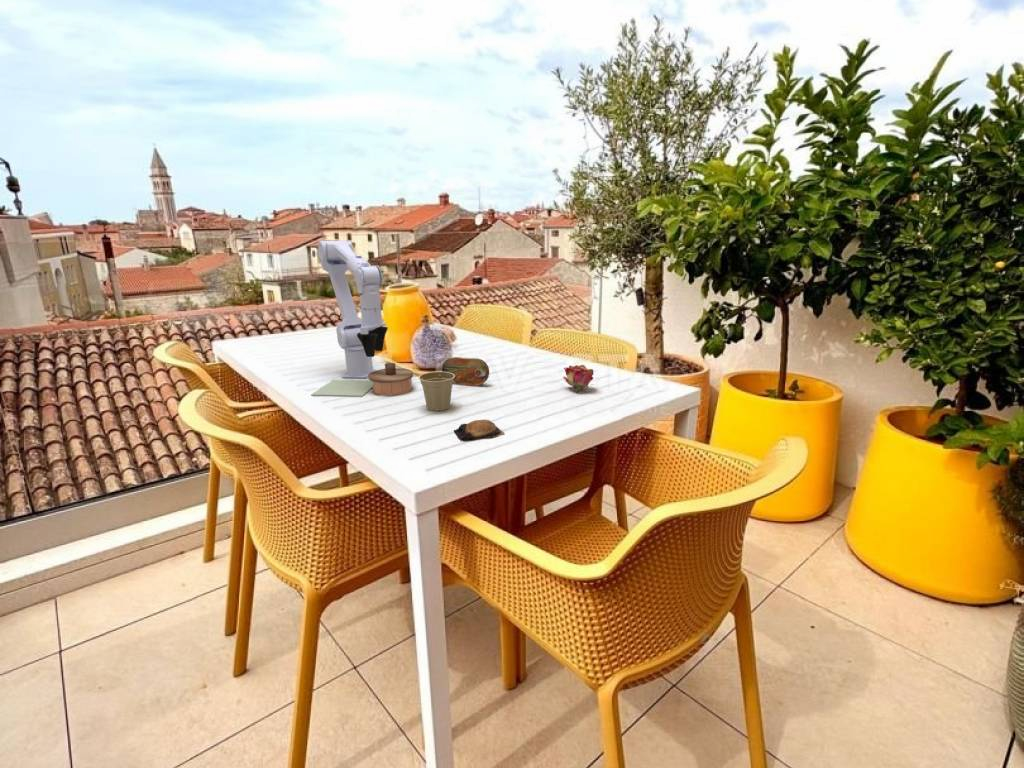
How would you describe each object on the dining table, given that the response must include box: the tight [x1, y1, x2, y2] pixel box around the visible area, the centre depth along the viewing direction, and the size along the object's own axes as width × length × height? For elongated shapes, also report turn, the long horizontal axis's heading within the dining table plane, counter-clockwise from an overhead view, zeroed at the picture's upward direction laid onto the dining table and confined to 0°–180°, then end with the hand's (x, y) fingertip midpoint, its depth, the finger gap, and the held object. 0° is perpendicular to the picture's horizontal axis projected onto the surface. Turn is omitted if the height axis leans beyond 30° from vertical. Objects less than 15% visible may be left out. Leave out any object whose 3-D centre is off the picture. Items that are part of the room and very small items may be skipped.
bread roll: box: [453, 419, 505, 443], centre depth 114 cm, size 11×8×4 cm
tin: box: [441, 356, 490, 387], centre depth 151 cm, size 15×3×8 cm, turn 71°
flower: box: [562, 364, 594, 394], centre depth 145 cm, size 10×9×8 cm
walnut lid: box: [367, 362, 414, 383], centre depth 146 cm, size 13×13×4 cm
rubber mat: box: [310, 379, 373, 398], centre depth 148 cm, size 15×15×1 cm
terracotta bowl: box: [372, 377, 413, 396], centre depth 147 cm, size 11×11×4 cm
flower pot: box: [418, 370, 455, 412], centre depth 131 cm, size 9×9×9 cm
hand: (374, 353), depth 149 cm, fingers open, 7 cm apart
